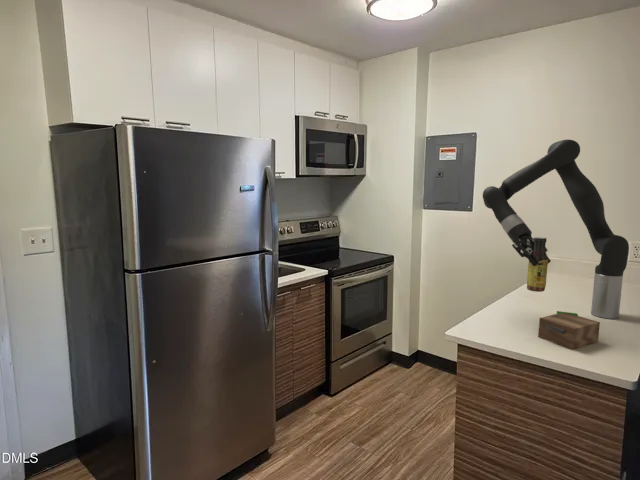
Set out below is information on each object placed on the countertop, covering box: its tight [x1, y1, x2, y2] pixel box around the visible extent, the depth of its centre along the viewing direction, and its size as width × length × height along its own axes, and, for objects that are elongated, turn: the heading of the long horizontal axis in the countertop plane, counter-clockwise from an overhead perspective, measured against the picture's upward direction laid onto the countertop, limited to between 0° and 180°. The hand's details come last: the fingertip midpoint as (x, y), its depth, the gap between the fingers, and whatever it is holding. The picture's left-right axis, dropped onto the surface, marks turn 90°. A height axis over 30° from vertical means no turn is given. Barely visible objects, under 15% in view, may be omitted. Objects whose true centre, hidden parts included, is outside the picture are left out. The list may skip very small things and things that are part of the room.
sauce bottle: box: [526, 236, 549, 293], centre depth 147 cm, size 6×6×20 cm
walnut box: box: [537, 311, 601, 350], centre depth 136 cm, size 15×12×7 cm
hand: (542, 263), depth 146 cm, fingers closed on sauce bottle, 6 cm apart
